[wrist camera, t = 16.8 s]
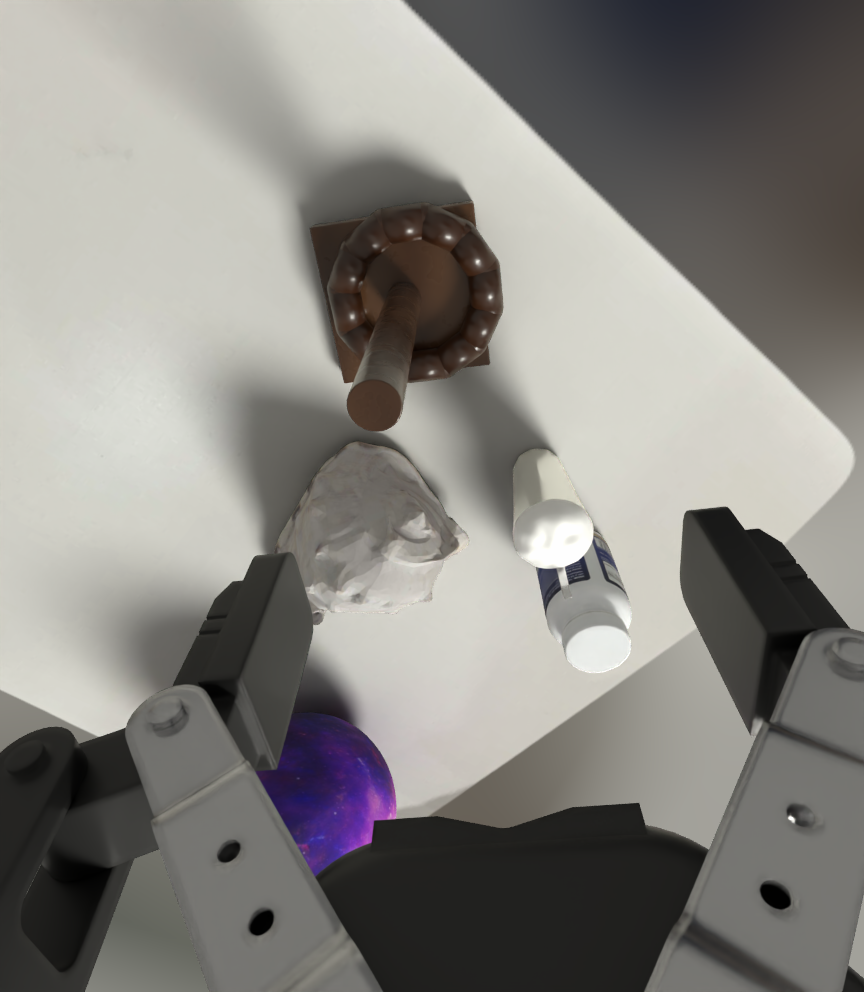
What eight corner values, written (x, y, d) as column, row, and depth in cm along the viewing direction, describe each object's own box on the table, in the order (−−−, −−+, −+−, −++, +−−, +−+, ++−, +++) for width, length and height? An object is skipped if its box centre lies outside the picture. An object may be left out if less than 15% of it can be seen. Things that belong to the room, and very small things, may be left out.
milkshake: (513, 513, 45) (527, 606, 36) (496, 447, 42) (507, 530, 34) (577, 499, 44) (608, 590, 36) (564, 431, 42) (594, 511, 33)
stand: (346, 377, 40) (285, 524, 25) (313, 224, 36) (214, 296, 21) (489, 358, 39) (511, 500, 24) (472, 200, 35) (487, 256, 20)
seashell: (266, 573, 48) (225, 671, 40) (320, 416, 42) (286, 493, 33) (416, 623, 50) (408, 726, 42) (490, 481, 44) (500, 569, 35)
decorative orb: (350, 806, 62) (323, 984, 49) (208, 747, 59) (139, 923, 46) (434, 720, 56) (429, 900, 43) (281, 647, 52) (224, 820, 39)
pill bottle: (528, 580, 48) (544, 677, 39) (541, 520, 45) (562, 611, 37) (599, 587, 48) (630, 685, 40) (616, 527, 45) (654, 620, 37)
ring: (351, 384, 39) (347, 395, 38) (314, 217, 34) (308, 221, 33) (507, 364, 38) (510, 374, 37) (492, 189, 33) (494, 192, 32)
